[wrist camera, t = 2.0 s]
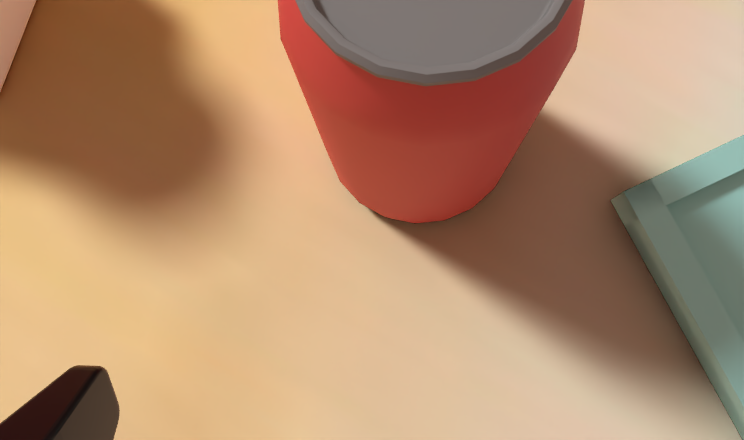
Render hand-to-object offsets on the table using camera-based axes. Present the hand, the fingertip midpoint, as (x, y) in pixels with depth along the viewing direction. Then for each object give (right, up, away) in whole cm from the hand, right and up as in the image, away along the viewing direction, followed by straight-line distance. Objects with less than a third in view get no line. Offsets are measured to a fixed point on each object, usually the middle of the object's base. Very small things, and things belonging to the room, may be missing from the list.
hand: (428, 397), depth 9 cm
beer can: (+1, +5, +15) cm, 16 cm away
